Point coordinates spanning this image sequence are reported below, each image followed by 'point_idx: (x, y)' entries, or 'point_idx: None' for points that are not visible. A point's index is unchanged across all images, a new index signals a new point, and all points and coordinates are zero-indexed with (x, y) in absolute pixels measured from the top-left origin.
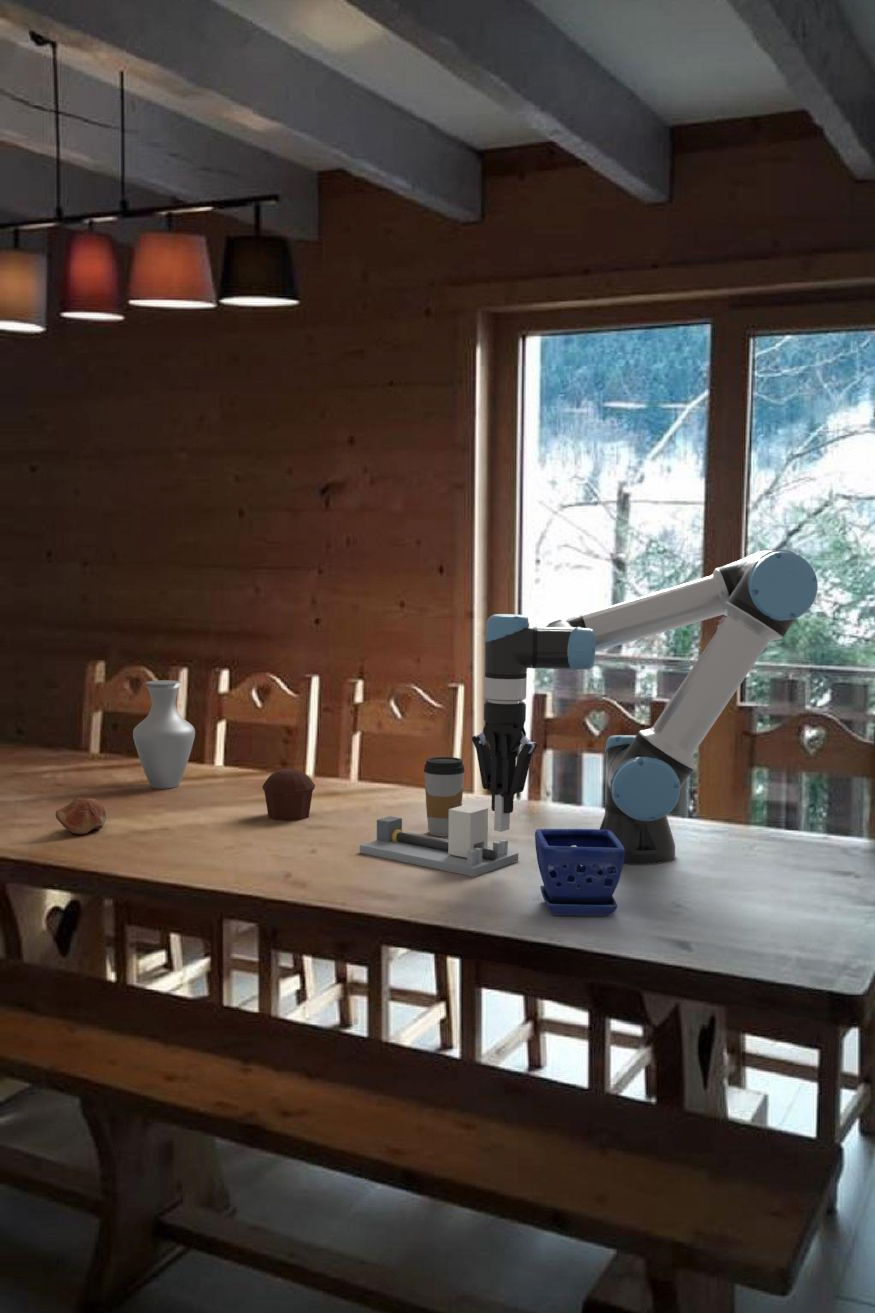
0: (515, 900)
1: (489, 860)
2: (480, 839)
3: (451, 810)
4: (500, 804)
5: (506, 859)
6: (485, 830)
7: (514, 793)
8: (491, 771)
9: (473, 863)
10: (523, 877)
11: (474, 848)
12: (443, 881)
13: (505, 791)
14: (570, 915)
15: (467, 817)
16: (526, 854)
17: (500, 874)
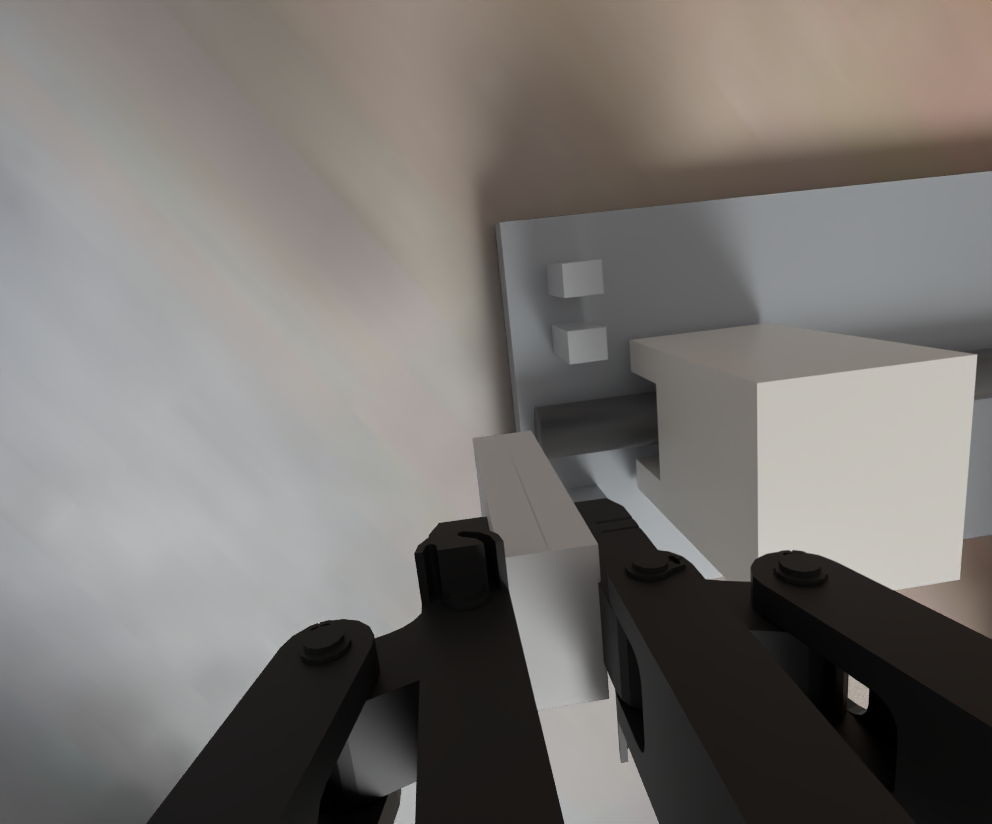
0: (11, 23)
1: (548, 404)
2: (664, 451)
3: (945, 358)
4: (504, 516)
5: None
6: (685, 516)
7: (308, 628)
8: (842, 759)
9: (548, 274)
10: (318, 401)
11: (604, 331)
12: (547, 39)
13: (452, 606)
14: None
15: (765, 372)
16: None
17: (434, 360)
